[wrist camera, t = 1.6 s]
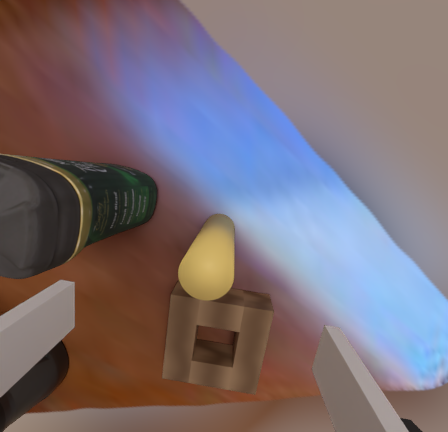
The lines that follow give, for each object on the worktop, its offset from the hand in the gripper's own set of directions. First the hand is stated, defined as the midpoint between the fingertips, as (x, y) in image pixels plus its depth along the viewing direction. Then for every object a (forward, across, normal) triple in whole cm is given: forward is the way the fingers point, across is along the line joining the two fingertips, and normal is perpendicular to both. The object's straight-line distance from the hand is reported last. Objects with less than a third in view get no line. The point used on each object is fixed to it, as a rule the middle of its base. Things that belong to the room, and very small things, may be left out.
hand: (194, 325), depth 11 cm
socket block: (+20, +2, -16) cm, 25 cm away
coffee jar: (+20, -14, +3) cm, 25 cm away
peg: (+20, 0, 0) cm, 20 cm away
